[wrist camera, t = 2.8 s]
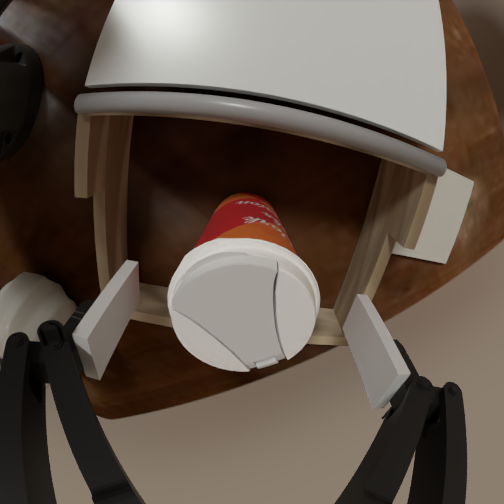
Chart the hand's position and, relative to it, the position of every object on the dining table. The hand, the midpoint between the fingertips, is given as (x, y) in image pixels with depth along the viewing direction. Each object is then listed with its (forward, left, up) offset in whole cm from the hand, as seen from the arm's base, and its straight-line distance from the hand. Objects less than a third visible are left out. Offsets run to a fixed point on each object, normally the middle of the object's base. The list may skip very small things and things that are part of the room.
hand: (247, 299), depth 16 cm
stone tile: (+20, +5, -12) cm, 24 cm away
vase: (-25, -16, -13) cm, 32 cm away
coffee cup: (0, 0, -13) cm, 13 cm away
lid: (0, +20, -8) cm, 22 cm away
